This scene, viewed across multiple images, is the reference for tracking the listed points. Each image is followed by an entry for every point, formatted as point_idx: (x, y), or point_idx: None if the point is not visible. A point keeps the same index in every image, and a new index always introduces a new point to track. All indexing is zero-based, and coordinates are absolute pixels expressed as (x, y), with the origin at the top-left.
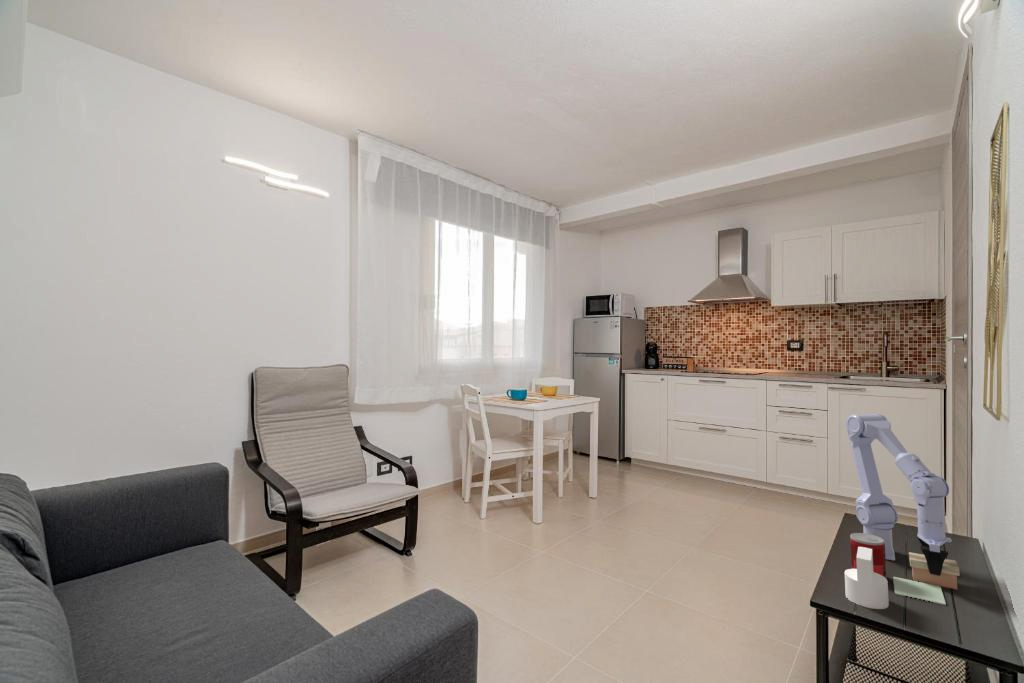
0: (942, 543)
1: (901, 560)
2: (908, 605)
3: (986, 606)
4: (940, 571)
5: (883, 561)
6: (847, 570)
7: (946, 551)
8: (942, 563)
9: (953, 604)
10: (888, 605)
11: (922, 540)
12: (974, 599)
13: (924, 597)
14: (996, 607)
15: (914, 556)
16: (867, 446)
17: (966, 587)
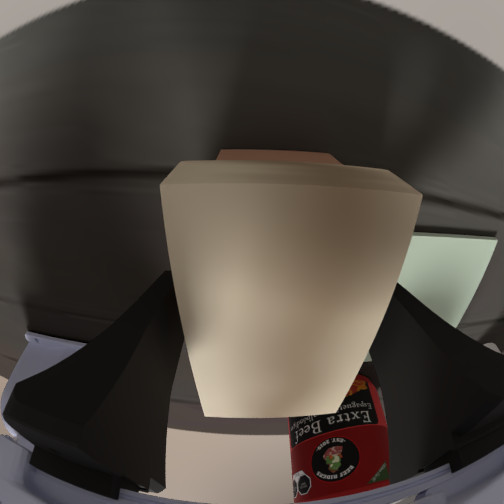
0: (501, 489)
1: (85, 326)
2: (490, 316)
3: (467, 88)
4: (402, 290)
5: (379, 435)
6: None
7: (501, 403)
8: (454, 330)
9: (484, 211)
10: (488, 343)
11: (157, 475)
12: (421, 107)
13: (465, 291)
14: (458, 50)
15: (272, 407)
16: None
17: (258, 98)
